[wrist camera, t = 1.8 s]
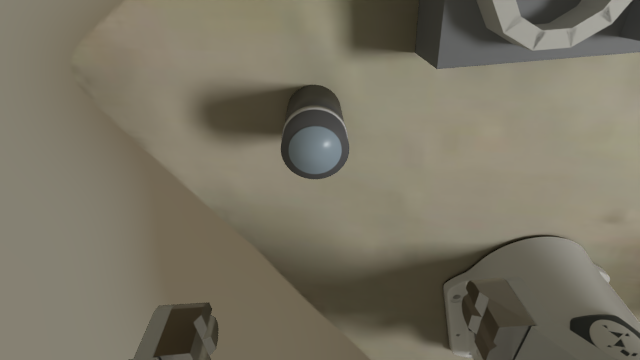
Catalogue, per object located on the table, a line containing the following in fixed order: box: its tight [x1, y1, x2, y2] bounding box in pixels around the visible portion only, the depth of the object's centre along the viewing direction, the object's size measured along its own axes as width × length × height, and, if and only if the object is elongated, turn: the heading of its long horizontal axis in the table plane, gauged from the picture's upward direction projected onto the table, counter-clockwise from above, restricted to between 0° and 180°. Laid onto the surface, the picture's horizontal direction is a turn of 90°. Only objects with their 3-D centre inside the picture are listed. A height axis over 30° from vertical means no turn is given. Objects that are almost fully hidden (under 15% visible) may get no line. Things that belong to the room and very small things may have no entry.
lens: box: [281, 85, 349, 179], centre depth 24 cm, size 4×4×7 cm
